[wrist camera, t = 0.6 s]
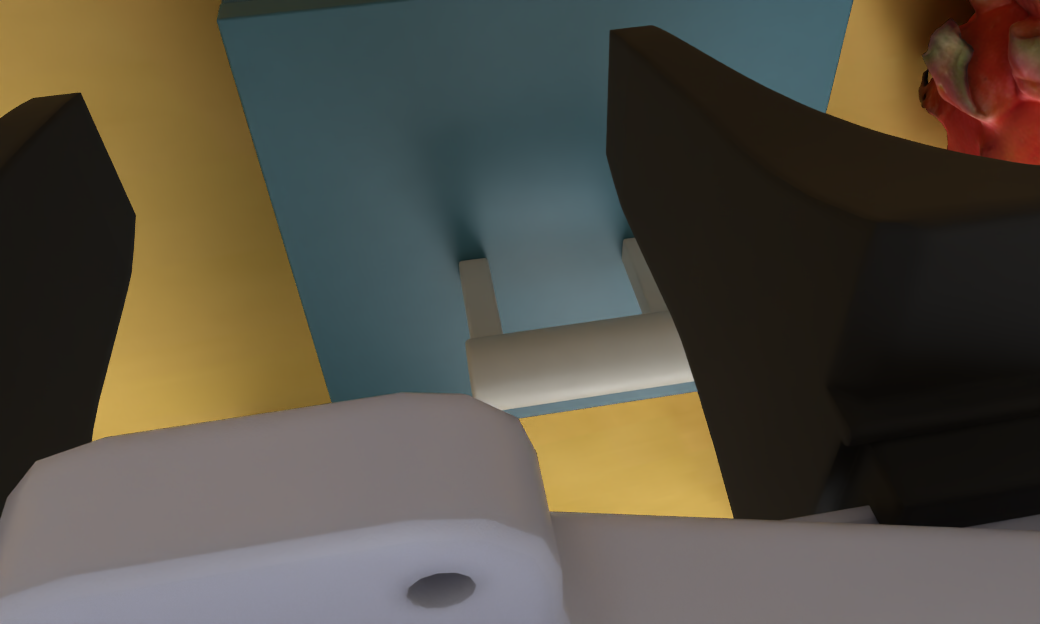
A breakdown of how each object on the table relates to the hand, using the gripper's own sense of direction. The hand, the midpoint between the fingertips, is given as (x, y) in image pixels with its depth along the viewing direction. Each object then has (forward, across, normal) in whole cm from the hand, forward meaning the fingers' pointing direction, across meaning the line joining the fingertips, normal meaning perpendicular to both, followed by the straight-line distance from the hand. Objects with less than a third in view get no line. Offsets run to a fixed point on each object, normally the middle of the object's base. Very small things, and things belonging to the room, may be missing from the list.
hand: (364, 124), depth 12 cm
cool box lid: (+6, -4, +7) cm, 9 cm away
